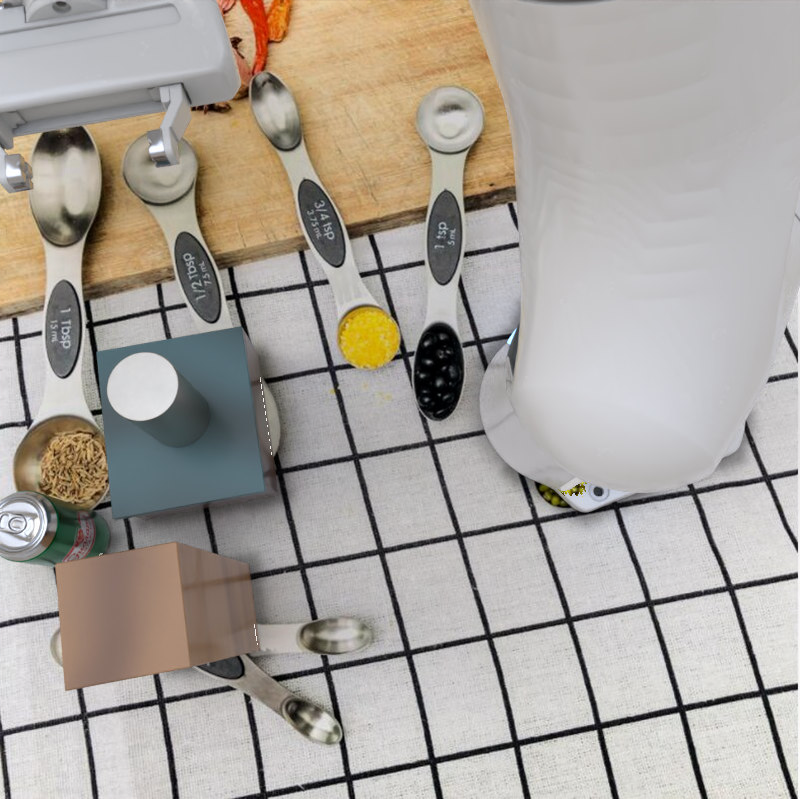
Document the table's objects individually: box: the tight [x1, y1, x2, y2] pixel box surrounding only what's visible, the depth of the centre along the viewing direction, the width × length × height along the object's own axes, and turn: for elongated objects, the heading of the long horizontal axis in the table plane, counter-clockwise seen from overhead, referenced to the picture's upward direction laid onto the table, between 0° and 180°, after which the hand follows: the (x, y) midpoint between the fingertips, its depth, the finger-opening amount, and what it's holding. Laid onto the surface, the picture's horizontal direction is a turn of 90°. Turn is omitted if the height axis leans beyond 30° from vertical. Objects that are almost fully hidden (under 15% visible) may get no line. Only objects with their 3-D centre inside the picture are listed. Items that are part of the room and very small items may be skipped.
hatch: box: [96, 325, 267, 521], centre depth 65 cm, size 13×12×1 cm
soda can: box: [0, 490, 111, 568], centre depth 64 cm, size 5×5×12 cm
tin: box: [107, 352, 210, 447], centre depth 60 cm, size 5×5×9 cm
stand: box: [54, 541, 261, 692], centre depth 57 cm, size 7×7×22 cm
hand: (91, 174), depth 52 cm, fingers open, 8 cm apart
